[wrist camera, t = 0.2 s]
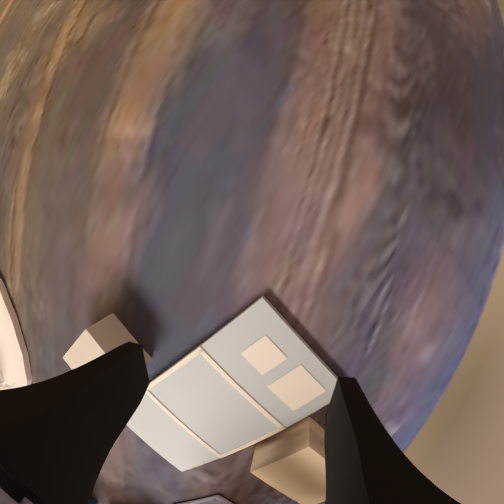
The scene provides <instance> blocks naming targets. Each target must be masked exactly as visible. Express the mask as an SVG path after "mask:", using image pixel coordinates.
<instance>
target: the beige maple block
mask: <svg viewBox="0 0 504 504" xmlns="http://www.w3.org/2000/svg"><path fill="white" fill-rule="evenodd" d="M129 341H130V342H133V343H137V344H139V343H138V342H137V341H136V340H135V338H134V337H133V336H132V335H131V334H130V333H129V331H128V330H127V329H126V328H125V327H124V325H123V324H122V323H121V322H120V321H119V319H118V318H117V317H116V316H115V314H114V313H112V314H110V315H108V316H107V317H105V318H103V319H102V320H100V321H98V322H97V323H95V324H93V325H92V326H90V327H88V328H87V329H86V330H85V331H84V332H83V333H82V334H81V336H80V337H79V338H78V339H77V340H76V342H75V343H74V344H73V345H72V347H71V348H70V349H69V350H68V352H67V353H66V354H65V355H64V357H63V359H64V360H65V361H66V362H67V364H68V365H69V366H70V368H71V369H72V370H73V369H75V368H77V367H79V366H82V365H84V364H86V363H88V362H90V361H92V360H94V359H95V358H97V357H99V356H101V355H103V354H105V353H107V352H109V351H111V350H113V349H114V348H116V347H118V346H120V345H122V344H124V343H127V342H129ZM143 352H144V358H145V363H146V364H147V363H148V362H149V361H150V360H151V359H152V358H151V356H150V355H149V354H148V353H147V352H146V351H145V350H144V349H143Z"/></svg>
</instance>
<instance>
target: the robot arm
mask: <svg viewBox="0 0 504 504" xmlns="http://www.w3.org/2000/svg"><path fill="white" fill-rule="evenodd" d="M149 384H150V382H149V378H148V373H147V368H146V363H145V358H144V352H143V347H142V345H141V344H137V343H133V342H130V341H129V342H127V343H124V344H122V345H120V346H118V347H116V348H114V349H113V350H111V351H109V352H107V353H105V354H103V355H101V356H99V357H97V358H95V359H94V360H92V361H90V362H88V363H86V364H84V365H82V366H79V367H77V368H75V369H73V370H71V371H68V372H66V373H64V374H62V375H59V376H57V377H54V378H51V379H48V380H45V381H42V382H39V383H35V384H31V385H27V386H22V387H18V388H13V389H6V390H0V504H88V502H89V499H90V496H91V493H92V491H93V488H94V485H95V482H96V480H97V478H98V475H99V473H100V470H101V468H102V466H103V464H104V462H105V460H106V458H107V455H108V453H109V451H110V449H111V448H112V446H113V444H114V443H115V441H116V440H117V438H118V437H119V435H120V434H121V432H122V431H123V429H124V428H125V426H126V425H127V423H128V422H129V420H130V419H131V417H132V416H133V414H134V412H135V411H136V409H137V408H138V406H139V405H140V403H141V401H142V399H143V397H144V395H145V393H146V390H147V388H148V386H149ZM324 446H325V470H326V500H325V504H460V503H459V502H457V501H456V500H454V499H453V498H451V497H450V496H448V495H447V494H446V493H444V492H443V491H442V490H440V489H439V488H438V487H436V486H435V485H434V484H433V483H432V482H431V481H430V480H429V479H428V478H426V477H425V476H424V475H423V474H422V473H421V472H420V471H419V470H418V469H417V468H416V467H415V466H414V465H413V464H412V463H411V462H410V460H409V459H408V458H407V457H406V456H405V455H404V454H403V452H402V451H401V450H400V449H399V447H398V446H397V445H396V443H395V442H394V441H393V439H392V438H391V437H390V435H389V434H388V432H387V431H386V429H385V428H384V426H383V425H382V423H381V422H380V420H379V419H378V417H377V415H376V414H375V412H374V411H373V409H372V407H371V405H370V404H369V402H368V400H367V398H366V397H365V395H364V393H363V391H362V389H361V387H360V386H359V384H358V382H357V380H356V379H355V378H348V377H338V378H337V382H336V385H335V388H334V391H333V394H332V397H331V400H330V403H329V406H328V409H327V412H326V418H325V433H324ZM178 504H233V503H232V502H230V501H228V500H227V499H225V498H223V497H222V496H220V495H214V496H210V497H206V498H202V499H198V500H193V501H188V502H183V503H178Z"/></svg>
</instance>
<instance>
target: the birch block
mask: <svg viewBox="0 0 504 504" xmlns="http://www.w3.org/2000/svg"><path fill="white" fill-rule="evenodd" d="M324 433H325V430H324V429H323V428H322V427H321V426H320V425H319V424H318V423H316V422H315V421H314V420H313V419H312V418H311V417H310V416H307V417H306V418H304V419H302V420H300V421H298V422H297V423H295V424H293V425H291V426H289V427H287V428H286V429H284V430H282V431H280V432H278V433H276V434H274V435H272V436H270V437H268V438H266V439H264V440H262V441H259V442H257V443H256V447H255V451H254V456H253V460H252V465H251V469H250V472H251V473H252V474H254V475H255V476H257V477H258V478H259V479H261V480H262V481H264V482H265V483H267V484H269V485H270V486H272V487H273V488H275V489H276V490H278V491H280V492H281V493H283V494H284V495H286V496H288V497H289V498H291V499H293V500H294V501H296V502H298V503H300V504H318V503H321V502H324V501H325V500H326V470H325V446H324Z"/></svg>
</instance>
